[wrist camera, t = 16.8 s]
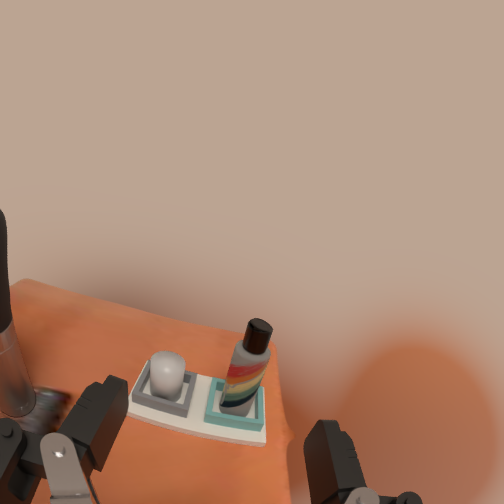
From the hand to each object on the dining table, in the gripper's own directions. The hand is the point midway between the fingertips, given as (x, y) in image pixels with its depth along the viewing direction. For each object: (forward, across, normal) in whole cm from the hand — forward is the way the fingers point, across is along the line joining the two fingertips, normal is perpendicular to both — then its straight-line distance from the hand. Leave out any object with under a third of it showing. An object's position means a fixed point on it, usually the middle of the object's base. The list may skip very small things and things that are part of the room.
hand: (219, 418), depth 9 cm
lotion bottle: (+27, -5, +31) cm, 41 cm away
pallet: (+28, +1, +32) cm, 42 cm away
